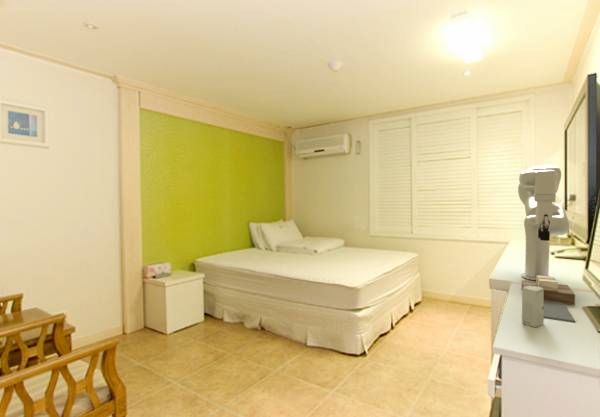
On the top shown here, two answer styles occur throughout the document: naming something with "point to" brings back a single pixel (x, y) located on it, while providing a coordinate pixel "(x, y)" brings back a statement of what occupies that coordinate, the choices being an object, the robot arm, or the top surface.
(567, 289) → the step
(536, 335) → the top surface
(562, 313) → the mat
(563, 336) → the top surface
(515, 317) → the top surface
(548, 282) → the beige rectangular block
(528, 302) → the skincare box
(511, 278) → the top surface
